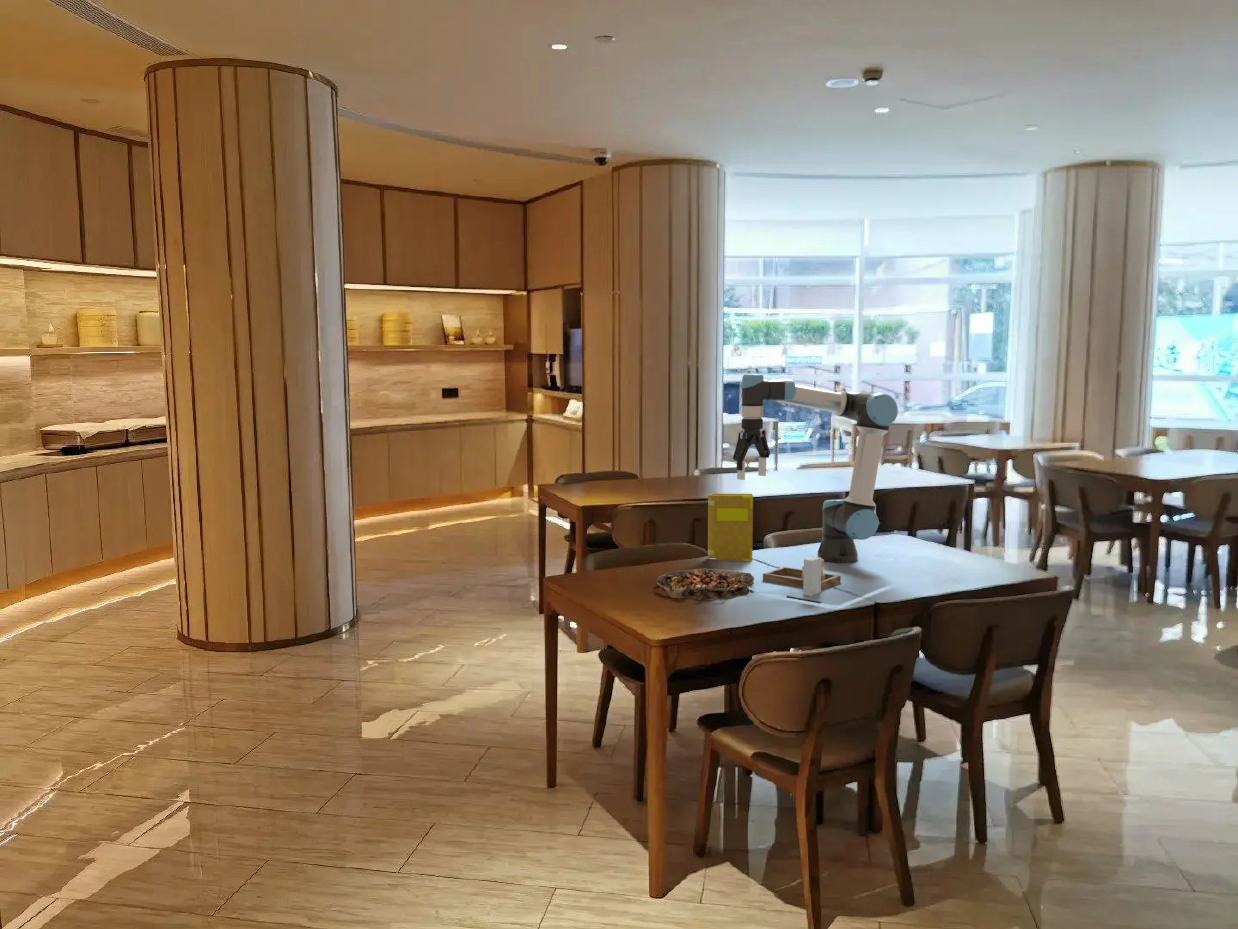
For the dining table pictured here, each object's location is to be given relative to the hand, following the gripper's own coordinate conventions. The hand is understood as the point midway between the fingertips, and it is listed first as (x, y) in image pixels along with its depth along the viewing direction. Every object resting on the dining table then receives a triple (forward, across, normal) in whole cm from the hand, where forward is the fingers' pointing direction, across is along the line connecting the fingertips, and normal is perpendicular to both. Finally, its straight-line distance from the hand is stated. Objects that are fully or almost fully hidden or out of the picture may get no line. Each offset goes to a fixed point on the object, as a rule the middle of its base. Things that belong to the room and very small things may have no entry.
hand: (751, 477), depth 341 cm
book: (+35, -16, -20) cm, 43 cm away
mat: (+35, +16, +34) cm, 51 cm away
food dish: (+35, +28, +1) cm, 45 cm away
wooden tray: (+35, +4, +23) cm, 42 cm away
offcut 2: (+30, +4, +27) cm, 41 cm away
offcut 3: (+34, +4, +28) cm, 44 cm away
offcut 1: (+28, +4, +28) cm, 39 cm away
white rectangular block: (+34, +16, +34) cm, 51 cm away
